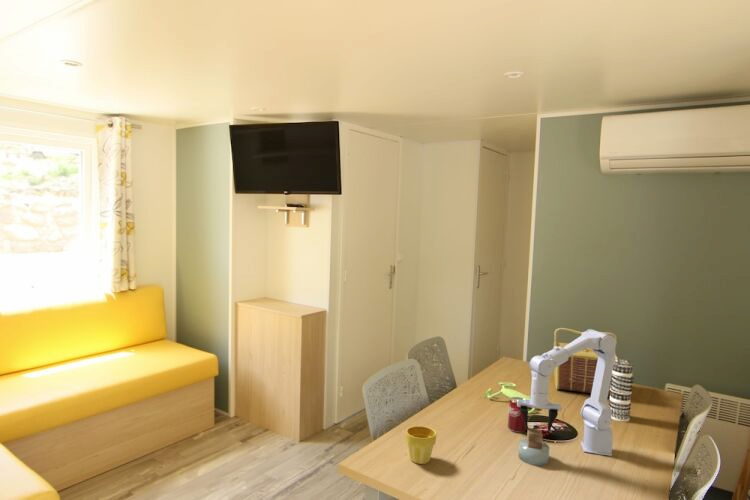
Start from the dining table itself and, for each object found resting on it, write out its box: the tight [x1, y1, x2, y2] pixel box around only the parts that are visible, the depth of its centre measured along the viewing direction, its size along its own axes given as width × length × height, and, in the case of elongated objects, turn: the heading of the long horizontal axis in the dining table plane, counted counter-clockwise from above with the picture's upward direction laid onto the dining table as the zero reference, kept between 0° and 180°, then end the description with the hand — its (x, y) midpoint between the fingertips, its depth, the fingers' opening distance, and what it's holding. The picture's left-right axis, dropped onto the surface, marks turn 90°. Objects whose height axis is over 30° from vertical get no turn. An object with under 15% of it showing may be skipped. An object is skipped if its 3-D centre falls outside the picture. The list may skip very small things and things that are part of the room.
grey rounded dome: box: [518, 438, 550, 467], centre depth 168 cm, size 10×10×5 cm
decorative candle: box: [608, 358, 634, 422], centre depth 206 cm, size 9×9×25 cm
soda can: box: [507, 397, 528, 434], centre depth 191 cm, size 7×7×12 cm
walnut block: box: [526, 427, 544, 449], centre depth 167 cm, size 4×4×5 cm
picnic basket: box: [553, 327, 619, 397], centre depth 242 cm, size 29×26×30 cm
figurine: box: [484, 382, 536, 415], centre depth 221 cm, size 18×27×6 cm
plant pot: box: [405, 425, 437, 465], centre depth 164 cm, size 10×10×10 cm
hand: (537, 428), depth 169 cm, fingers open, 7 cm apart
